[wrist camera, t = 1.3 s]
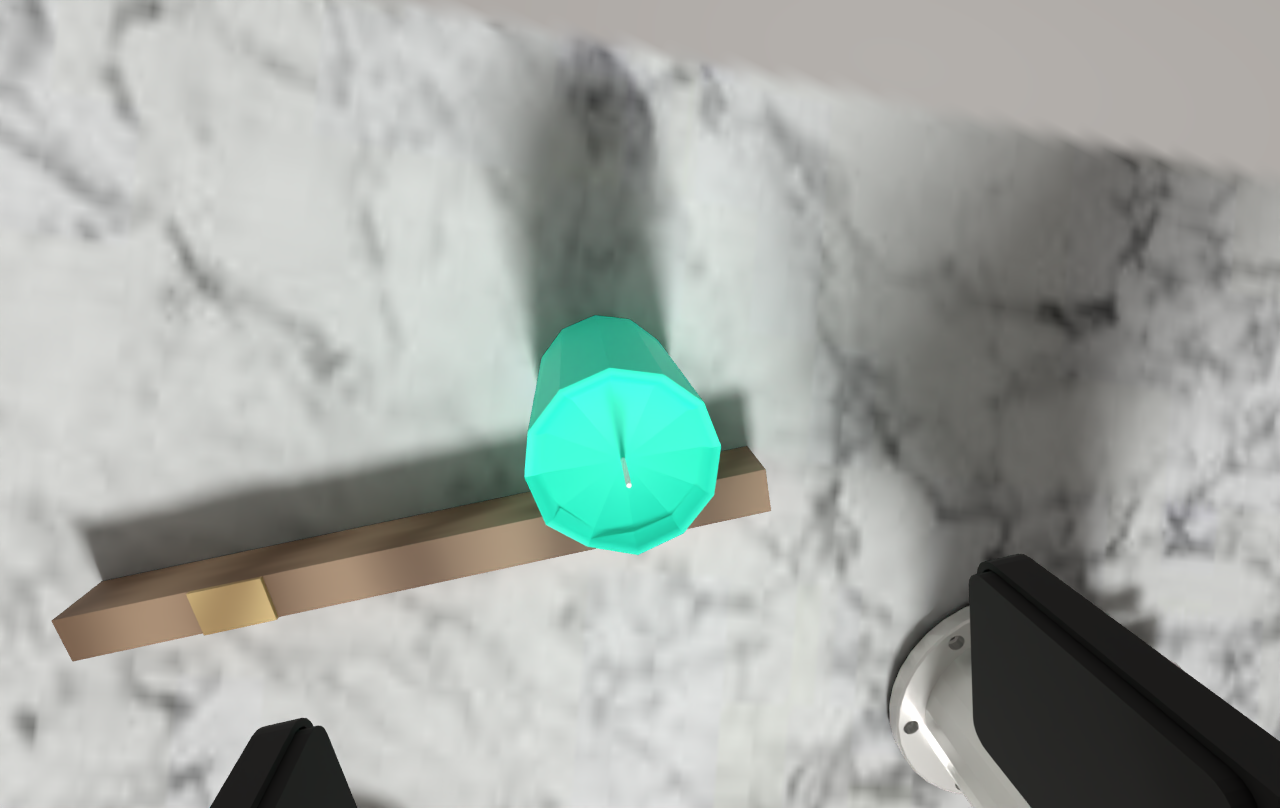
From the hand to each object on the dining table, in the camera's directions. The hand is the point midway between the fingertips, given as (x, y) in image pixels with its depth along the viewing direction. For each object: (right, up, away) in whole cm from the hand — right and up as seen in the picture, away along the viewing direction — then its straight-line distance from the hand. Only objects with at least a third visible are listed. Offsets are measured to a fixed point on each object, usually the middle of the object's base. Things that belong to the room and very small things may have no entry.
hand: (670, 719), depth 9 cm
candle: (-2, +6, +20) cm, 21 cm away
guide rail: (-10, -1, +21) cm, 23 cm away
